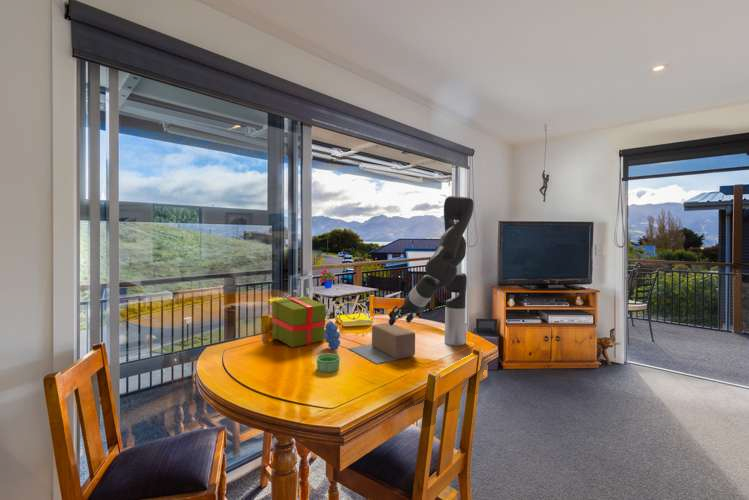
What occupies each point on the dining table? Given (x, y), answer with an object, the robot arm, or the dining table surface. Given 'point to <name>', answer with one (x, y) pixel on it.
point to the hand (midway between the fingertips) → (398, 322)
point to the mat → (373, 354)
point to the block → (393, 340)
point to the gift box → (298, 321)
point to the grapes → (332, 335)
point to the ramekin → (328, 362)
